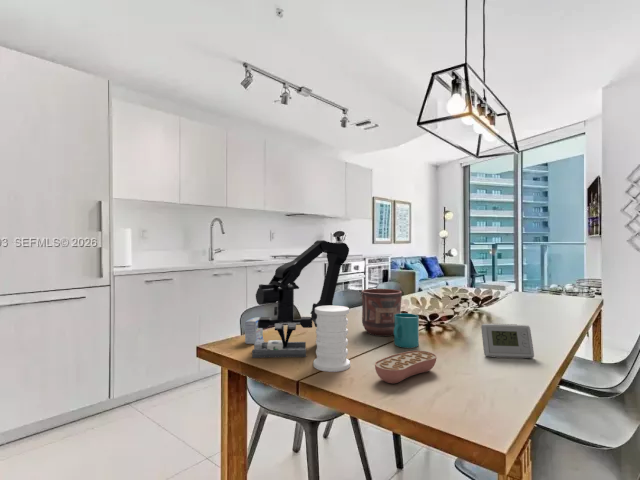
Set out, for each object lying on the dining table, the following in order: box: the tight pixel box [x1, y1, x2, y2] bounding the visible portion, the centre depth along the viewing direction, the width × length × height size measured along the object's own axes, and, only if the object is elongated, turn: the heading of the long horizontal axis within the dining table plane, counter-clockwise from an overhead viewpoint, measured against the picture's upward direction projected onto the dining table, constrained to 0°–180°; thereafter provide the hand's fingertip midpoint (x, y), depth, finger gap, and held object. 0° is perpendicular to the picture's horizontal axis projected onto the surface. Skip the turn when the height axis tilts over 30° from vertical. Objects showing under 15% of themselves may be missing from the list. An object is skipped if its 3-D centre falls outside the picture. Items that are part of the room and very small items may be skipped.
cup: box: [393, 312, 420, 349], centre depth 140 cm, size 9×12×11 cm
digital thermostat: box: [480, 323, 535, 360], centre depth 128 cm, size 16×9×11 cm, turn 71°
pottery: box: [361, 288, 403, 337], centre depth 161 cm, size 18×18×18 cm
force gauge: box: [263, 339, 283, 349], centre depth 130 cm, size 6×9×2 cm
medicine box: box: [244, 316, 264, 345], centre depth 146 cm, size 8×4×9 cm, turn 168°
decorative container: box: [312, 304, 351, 373], centre depth 118 cm, size 12×12×18 cm
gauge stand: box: [251, 338, 307, 359], centre depth 131 cm, size 18×10×4 cm, turn 93°
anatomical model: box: [374, 350, 438, 384], centre depth 109 cm, size 23×10×5 cm, turn 130°
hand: (285, 346), depth 131 cm, fingers closed
